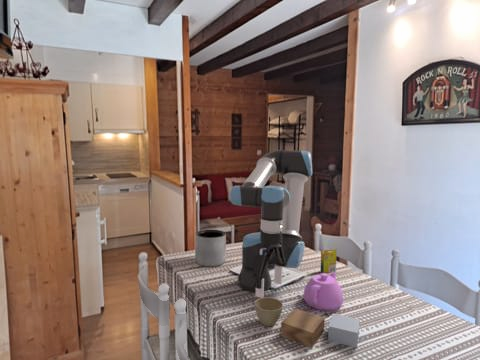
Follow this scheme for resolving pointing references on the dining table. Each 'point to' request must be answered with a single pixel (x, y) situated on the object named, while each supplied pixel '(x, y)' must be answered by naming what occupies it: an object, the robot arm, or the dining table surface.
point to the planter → (210, 248)
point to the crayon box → (328, 261)
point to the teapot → (323, 292)
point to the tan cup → (268, 310)
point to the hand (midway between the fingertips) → (269, 289)
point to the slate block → (344, 330)
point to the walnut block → (302, 327)
